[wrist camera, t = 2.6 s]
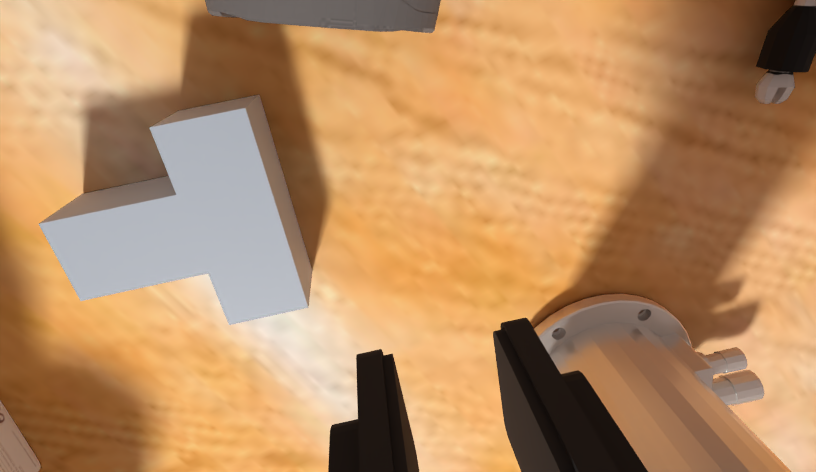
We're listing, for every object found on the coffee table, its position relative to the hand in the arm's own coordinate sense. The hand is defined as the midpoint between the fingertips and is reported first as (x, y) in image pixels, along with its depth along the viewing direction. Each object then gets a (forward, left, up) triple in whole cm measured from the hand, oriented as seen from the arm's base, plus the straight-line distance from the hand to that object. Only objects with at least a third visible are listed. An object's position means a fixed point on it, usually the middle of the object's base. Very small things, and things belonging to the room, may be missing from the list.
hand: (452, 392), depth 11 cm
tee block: (+10, 0, -17) cm, 20 cm away
